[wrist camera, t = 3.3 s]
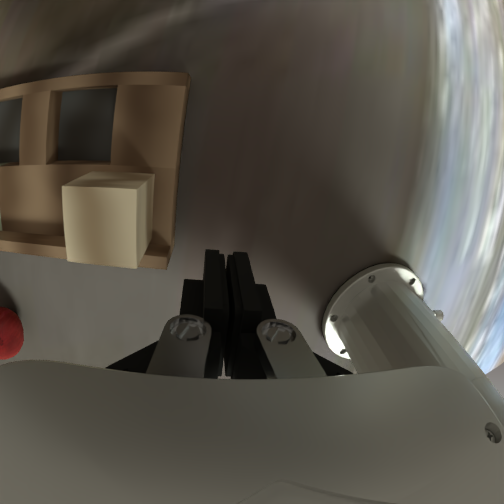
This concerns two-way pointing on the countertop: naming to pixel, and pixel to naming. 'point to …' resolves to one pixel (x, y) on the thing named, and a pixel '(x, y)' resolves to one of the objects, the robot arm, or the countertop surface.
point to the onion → (10, 333)
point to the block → (108, 218)
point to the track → (88, 151)
